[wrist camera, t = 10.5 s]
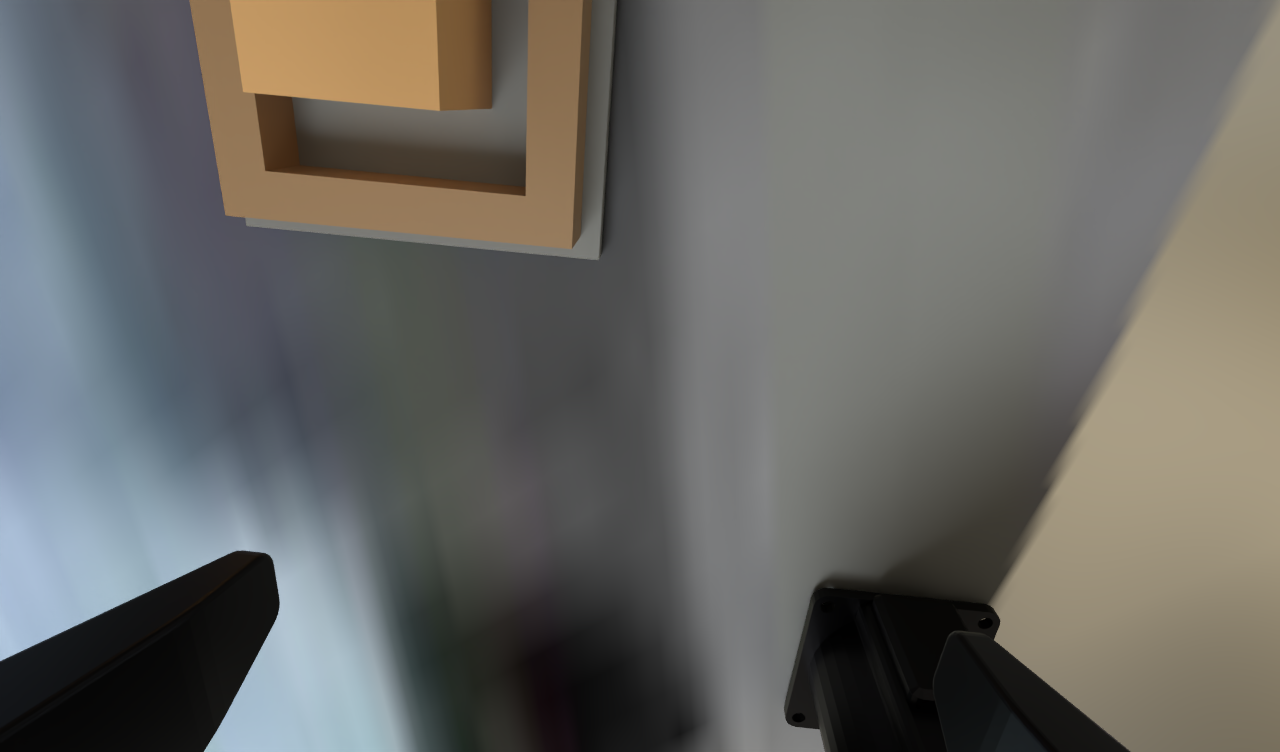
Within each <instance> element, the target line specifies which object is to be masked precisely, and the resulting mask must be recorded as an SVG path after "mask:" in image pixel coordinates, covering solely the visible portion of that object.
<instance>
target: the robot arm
mask: <svg viewBox="0 0 1280 752" xmlns="http://www.w3.org/2000/svg"><path fill="white" fill-rule="evenodd" d="M824 602H831V603H829V604H826V605H823V604H822V603H824ZM279 604H280V602H279V594H278V588H277V582H276V576H275V570H274V564H273V560H272V558H271V557H270V556H269V555H268V554H266V553H260V552H251V551H235V552H232V553H230V554H228V555H226V556H224V557H221V558H219V559H217V560H215V561H213V562H211V563H209V564H206V565H204V566H202V567H200V568H198V569H196V570H194V571H192V572H189V573H187V574H185V575H183V576H181V577H179V578H177V579H175V580H172V581H170V582H168V583H166V584H164V585H162V586H160V587H158V588H155V589H153V590H151V591H149V592H147V593H145V594H143V595H140V596H138V597H136V598H134V599H132V600H130V601H128V602H126V603H123V604H121V605H119V606H117V607H115V608H113V609H111V610H108V611H106V612H104V613H102V614H100V615H98V616H96V617H94V618H91V619H89V620H87V621H85V622H83V623H81V624H79V625H77V626H74V627H72V628H70V629H68V630H66V631H64V632H62V633H59V634H57V635H55V636H53V637H51V638H49V639H47V640H45V641H42V642H40V643H38V644H36V645H34V646H32V647H30V648H27V649H25V650H23V651H21V652H19V653H17V654H15V655H13V656H10V657H8V658H6V659H4V660H2V661H0V752H204V750H205V749H206V747H207V746H208V744H209V742H210V741H211V739H212V738H213V736H214V734H215V733H216V731H217V729H218V728H219V726H220V724H221V722H222V720H223V719H224V717H225V715H226V713H227V711H228V710H229V708H230V706H231V704H232V702H233V700H234V698H235V696H236V694H237V693H238V691H239V689H240V687H241V685H242V683H243V681H244V679H245V677H246V675H247V674H248V672H249V670H250V668H251V666H252V664H253V662H254V660H255V658H256V657H257V655H258V653H259V651H260V649H261V647H262V645H263V643H264V641H265V640H266V638H267V636H268V634H269V632H270V630H271V628H272V626H273V624H274V622H275V620H276V618H277V615H278V611H279ZM983 618H986V619H984V620H981V619H983ZM999 625H1000V619H999V617H998V615H997V613H996V612H995V610H994V609H993V608H992V607H991V606H989V605H986V604H978V603H968V602H959V601H949V600H939V599H930V598H920V597H910V596H901V595H891V594H881V593H871V592H862V591H852V590H842V589H833V588H822V589H819V590H817V591H816V592H815V593H813V595H812V597H811V601H810V605H809V609H808V613H807V617H806V621H805V625H804V629H803V633H802V637H801V641H800V645H799V649H798V653H797V657H796V661H795V665H794V669H793V673H792V677H791V681H790V685H789V690H788V694H787V698H786V702H785V706H784V712H785V718H786V721H787V723H788V724H790V725H792V726H795V727H803V728H813V729H820V732H821V737H822V741H823V745H824V750H825V752H1130V751H1129V750H1128V749H1126V747H1124V746H1123V745H1122V744H1121V743H1119V742H1118V741H1117V740H1116V739H1114V738H1113V737H1112V736H1111V735H1110V734H1108V733H1107V732H1106V731H1105V730H1103V729H1102V728H1101V727H1100V726H1099V725H1097V724H1096V723H1095V722H1094V721H1092V720H1091V719H1090V718H1089V717H1087V716H1086V715H1085V714H1084V713H1083V712H1081V711H1080V710H1079V709H1078V708H1076V707H1075V706H1074V705H1073V704H1071V703H1070V702H1069V701H1068V700H1067V699H1065V698H1064V697H1063V696H1062V695H1060V694H1059V693H1058V692H1057V691H1055V690H1054V689H1053V688H1052V687H1050V686H1049V685H1048V684H1047V683H1046V682H1045V681H1043V680H1042V679H1041V678H1039V677H1038V676H1037V675H1036V674H1035V673H1033V672H1032V671H1031V670H1030V669H1029V668H1027V667H1026V666H1025V665H1024V664H1022V663H1021V662H1020V661H1019V660H1018V659H1016V658H1015V657H1014V656H1013V655H1011V654H1010V653H1009V652H1008V651H1006V650H1005V649H1004V648H1003V647H1002V646H1000V645H999V644H998V643H996V642H995V641H994V638H995V635H996V633H997V630H998V628H999Z"/></svg>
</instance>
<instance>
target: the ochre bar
mask: <svg viewBox="0 0 1280 752" xmlns="http://www.w3.org/2000/svg"><path fill="white" fill-rule="evenodd" d="M230 5H231V12H232V19H233V26H234V33H235V40H236V47H237V53H238V60H239V67H240V74H241V81H242V88H243V92H248V93H258V94H268V95H279V96H289V97H300V98H310V99H321V100H331V101H342V102H352V103H363V104H373V105H384V106H394V107H405V108H415V109H426V110H436V111H448V110H472V109H492V11H491V0H230Z"/></svg>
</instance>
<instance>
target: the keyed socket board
mask: <svg viewBox="0 0 1280 752" xmlns="http://www.w3.org/2000/svg"><path fill="white" fill-rule="evenodd" d="M190 6H191V12H192V18H193V24H194V30H195V36H196V42H197V47H198V53H199V59H200V65H201V71H202V77H203V83H204V89H205V95H206V101H207V107H208V113H209V119H210V125H211V131H212V137H213V143H214V149H215V155H216V161H217V167H218V172H219V178H220V184H221V190H222V196H223V202H224V208H225V214H226V216H236V217H245V219H246V225H247V226H253V227H263V228H274V229H284V230H294V231H304V232H315V233H325V234H335V235H345V236H356V237H366V238H376V239H386V240H397V241H407V242H417V243H427V244H438V245H448V246H458V247H469V248H479V249H489V250H499V251H510V252H520V253H530V254H540V255H551V256H561V257H571V258H581V259H592V260H599V259H600V257H601V249H602V233H603V217H604V201H605V185H606V169H607V153H608V137H609V121H610V105H611V90H612V74H613V58H614V42H615V26H616V10H617V0H491V11H492V109H472V110H448V111H436V110H426V109H415V108H405V107H394V106H384V105H373V104H363V103H352V102H342V101H331V100H321V99H310V98H300V97H289V96H279V95H268V94H258V93H248V92H243V88H242V81H241V74H240V67H239V60H238V53H237V47H236V40H235V33H234V26H233V19H232V12H231V5H230V0H190Z"/></svg>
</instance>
